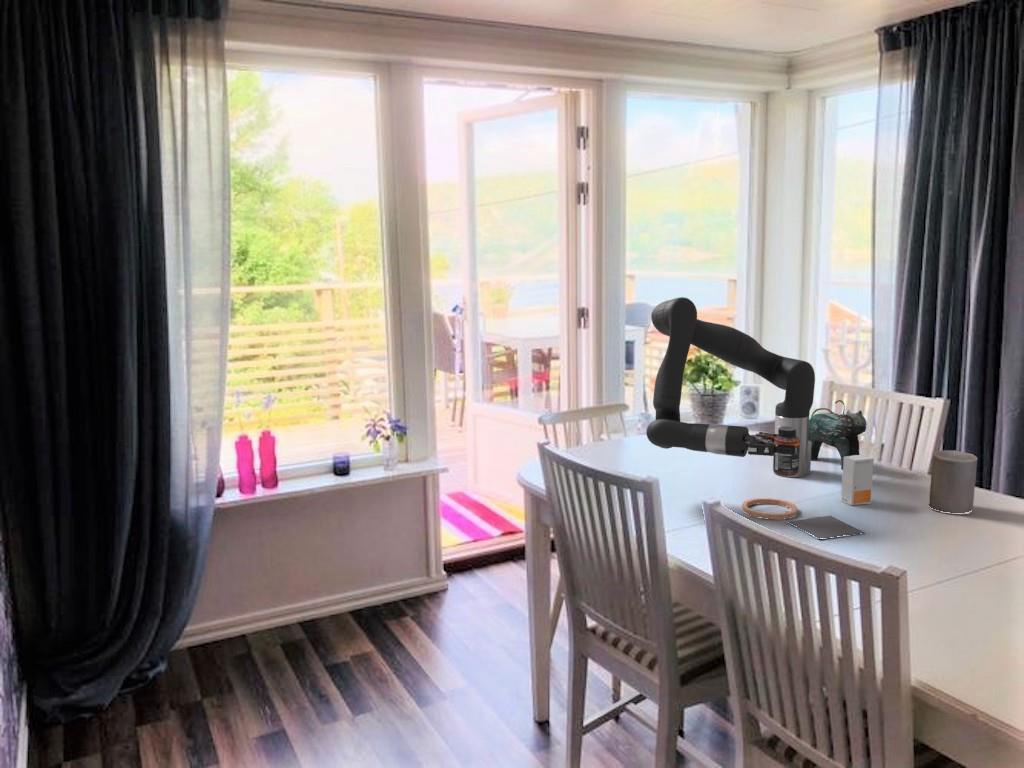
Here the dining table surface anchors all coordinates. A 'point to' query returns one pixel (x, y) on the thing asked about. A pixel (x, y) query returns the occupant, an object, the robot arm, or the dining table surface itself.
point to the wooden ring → (768, 515)
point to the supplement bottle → (785, 462)
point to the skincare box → (857, 479)
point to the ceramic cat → (836, 432)
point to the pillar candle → (953, 481)
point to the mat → (825, 527)
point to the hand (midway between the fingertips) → (797, 447)
